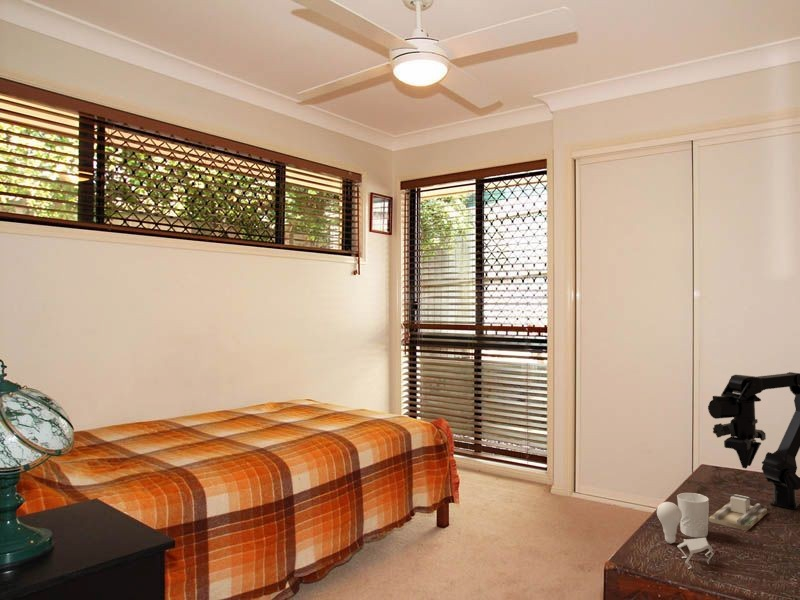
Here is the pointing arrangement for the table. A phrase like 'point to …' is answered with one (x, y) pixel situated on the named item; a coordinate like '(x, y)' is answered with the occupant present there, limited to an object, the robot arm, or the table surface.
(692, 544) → the origami figure
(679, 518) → the lightbulb
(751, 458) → the robot arm
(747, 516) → the board
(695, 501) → the white cup
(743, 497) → the tuning slider
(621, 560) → the table surface
